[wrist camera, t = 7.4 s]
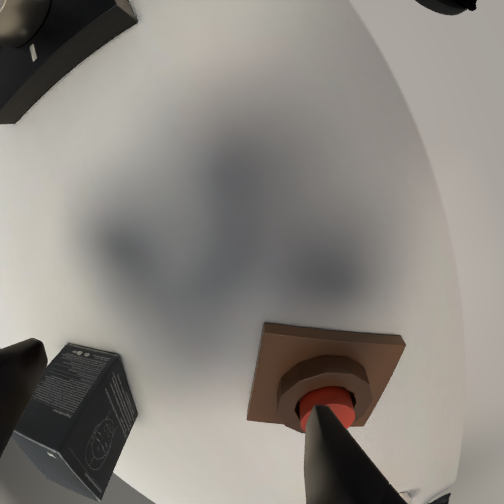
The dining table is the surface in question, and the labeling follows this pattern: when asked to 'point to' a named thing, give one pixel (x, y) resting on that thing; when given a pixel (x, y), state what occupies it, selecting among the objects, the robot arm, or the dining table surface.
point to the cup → (405, 497)
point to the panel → (57, 49)
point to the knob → (20, 20)
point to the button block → (319, 370)
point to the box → (78, 420)
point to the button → (328, 404)
